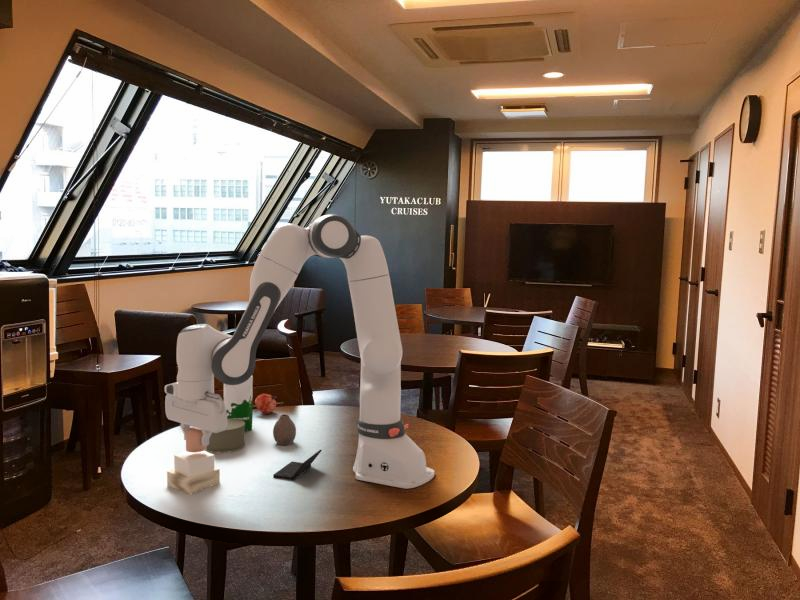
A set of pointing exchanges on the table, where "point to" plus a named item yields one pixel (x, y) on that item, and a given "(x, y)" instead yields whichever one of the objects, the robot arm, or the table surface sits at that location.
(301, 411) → the table surface
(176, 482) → the tower base
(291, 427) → the vase
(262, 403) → the pomegranate
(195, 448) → the peach rounded dome
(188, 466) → the tower middle
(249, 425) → the milk carton
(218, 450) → the can
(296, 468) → the handheld gaming console
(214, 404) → the robot arm
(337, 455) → the table surface
